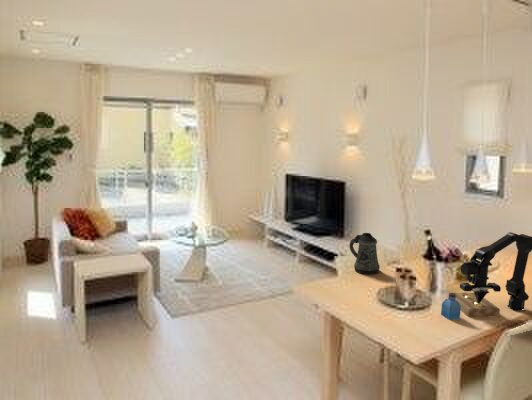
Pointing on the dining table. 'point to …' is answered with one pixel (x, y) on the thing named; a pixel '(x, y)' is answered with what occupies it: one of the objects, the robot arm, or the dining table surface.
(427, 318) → the dining table surface
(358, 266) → the beer stein
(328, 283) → the dining table surface
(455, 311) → the perfume bottle
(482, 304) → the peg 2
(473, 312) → the socket board
